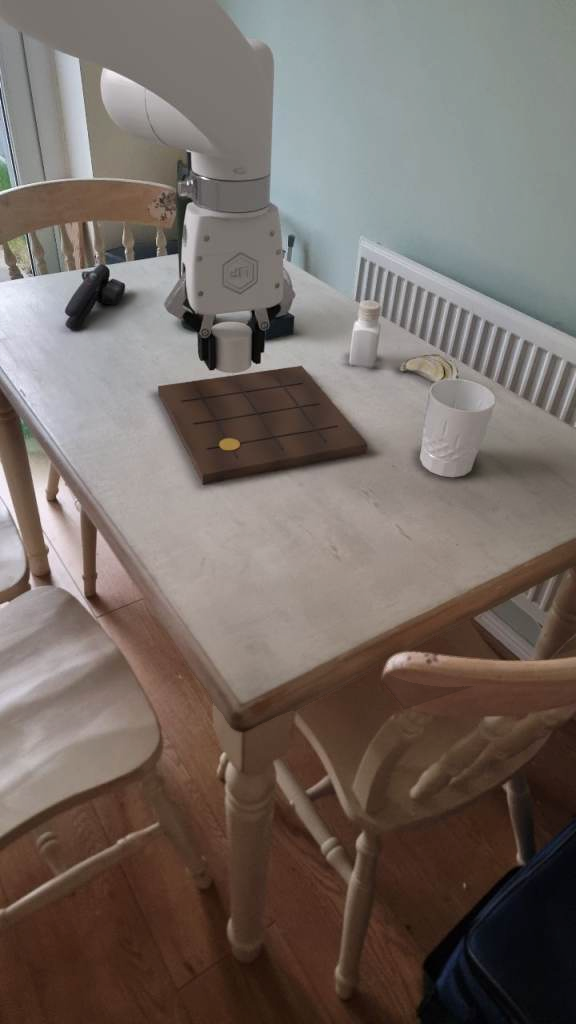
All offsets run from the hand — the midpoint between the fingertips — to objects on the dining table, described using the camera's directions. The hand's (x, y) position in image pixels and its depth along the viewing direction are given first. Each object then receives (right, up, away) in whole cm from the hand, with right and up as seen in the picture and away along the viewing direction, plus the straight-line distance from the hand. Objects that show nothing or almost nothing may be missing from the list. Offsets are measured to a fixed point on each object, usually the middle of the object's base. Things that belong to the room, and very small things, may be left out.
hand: (231, 360), depth 79 cm
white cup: (+27, -11, +11) cm, 31 cm away
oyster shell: (+28, +2, +27) cm, 39 cm away
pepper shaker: (+18, +6, +31) cm, 37 cm away
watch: (+4, +13, +38) cm, 40 cm away
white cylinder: (0, 0, 0) cm, 0 cm away
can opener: (-27, +17, +40) cm, 52 cm away
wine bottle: (-9, +14, +38) cm, 42 cm away
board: (+2, -5, +16) cm, 17 cm away
